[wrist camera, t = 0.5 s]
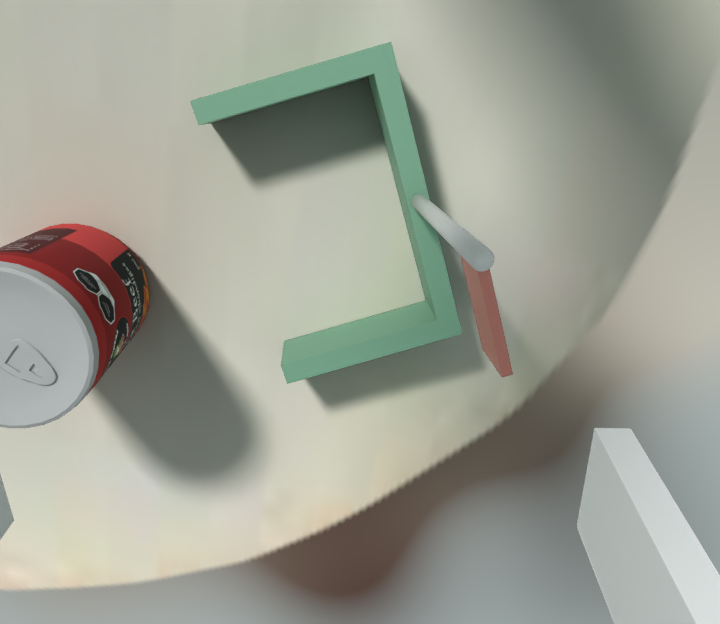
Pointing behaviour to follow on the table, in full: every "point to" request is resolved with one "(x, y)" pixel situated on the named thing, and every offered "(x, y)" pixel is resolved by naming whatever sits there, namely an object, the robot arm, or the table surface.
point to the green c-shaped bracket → (420, 216)
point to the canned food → (63, 318)
